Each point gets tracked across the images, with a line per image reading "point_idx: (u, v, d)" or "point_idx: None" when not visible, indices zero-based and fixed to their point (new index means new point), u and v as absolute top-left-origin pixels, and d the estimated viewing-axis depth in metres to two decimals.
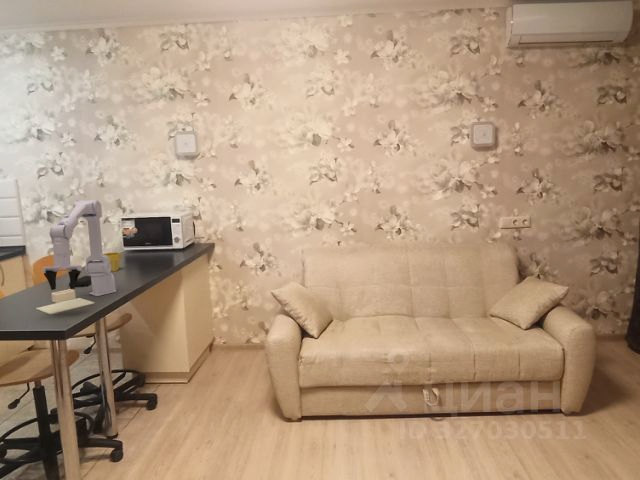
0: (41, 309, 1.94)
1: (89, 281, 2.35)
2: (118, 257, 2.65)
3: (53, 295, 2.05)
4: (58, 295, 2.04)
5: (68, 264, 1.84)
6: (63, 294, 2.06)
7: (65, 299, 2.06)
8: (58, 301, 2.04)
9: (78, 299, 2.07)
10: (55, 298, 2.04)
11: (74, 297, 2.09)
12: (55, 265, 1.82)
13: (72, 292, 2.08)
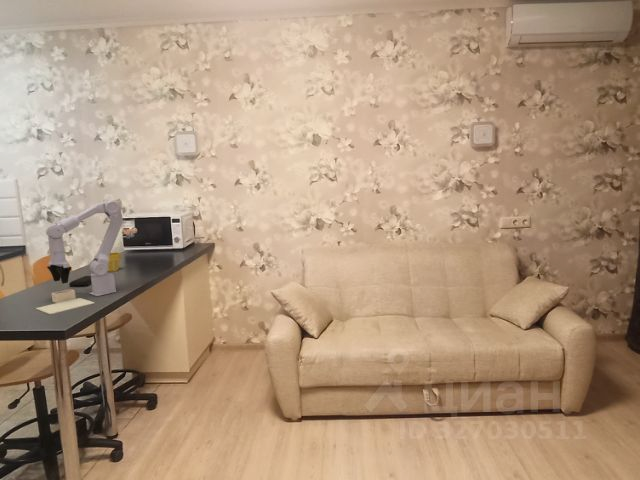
0: (41, 309, 1.94)
1: (89, 281, 2.35)
2: (118, 257, 2.65)
3: (53, 295, 2.05)
4: (58, 295, 2.04)
5: (59, 261, 2.03)
6: (63, 294, 2.06)
7: (65, 299, 2.06)
8: (58, 301, 2.04)
9: (78, 299, 2.07)
10: (55, 298, 2.04)
11: (74, 297, 2.09)
12: (51, 261, 2.04)
13: (72, 292, 2.08)
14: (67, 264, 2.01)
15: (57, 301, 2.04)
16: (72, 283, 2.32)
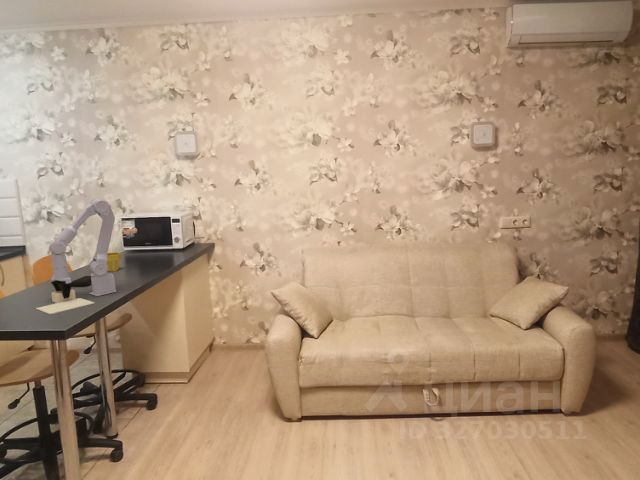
0: (41, 309, 1.94)
1: (90, 281, 2.35)
2: (118, 257, 2.65)
3: (53, 295, 2.05)
4: (58, 295, 2.04)
5: (62, 276, 2.04)
6: None
7: (65, 299, 2.06)
8: (58, 301, 2.04)
9: (78, 299, 2.07)
10: (55, 298, 2.04)
11: (74, 297, 2.09)
12: (53, 276, 2.06)
13: (72, 292, 2.08)
14: (69, 280, 2.03)
15: (57, 301, 2.04)
16: None
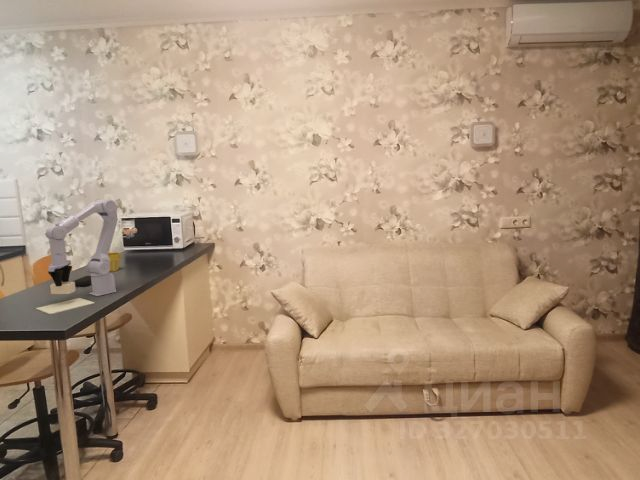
0: (41, 309, 1.94)
1: (90, 281, 2.35)
2: (118, 257, 2.65)
3: None
4: (52, 286, 1.99)
5: (54, 263, 1.98)
6: (57, 286, 1.99)
7: (59, 291, 2.00)
8: (52, 292, 2.00)
9: (78, 299, 2.07)
10: None
11: (68, 291, 2.00)
12: None
13: (66, 286, 1.99)
14: (51, 268, 1.93)
15: (51, 292, 2.00)
16: None
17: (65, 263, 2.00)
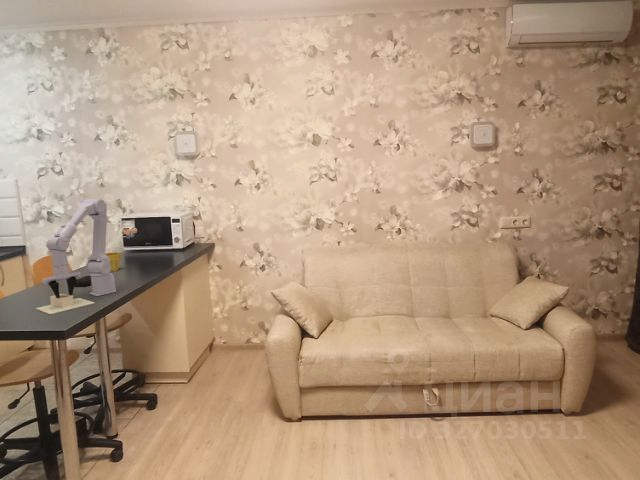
0: (41, 309, 1.94)
1: (90, 281, 2.35)
2: (118, 257, 2.65)
3: None
4: (51, 298, 1.97)
5: (54, 275, 1.94)
6: (54, 298, 1.97)
7: (56, 304, 1.97)
8: (51, 304, 1.98)
9: (78, 299, 2.07)
10: None
11: (62, 305, 1.95)
12: None
13: (60, 299, 1.95)
14: (43, 280, 1.91)
15: (51, 303, 1.98)
16: None
17: (63, 276, 1.94)
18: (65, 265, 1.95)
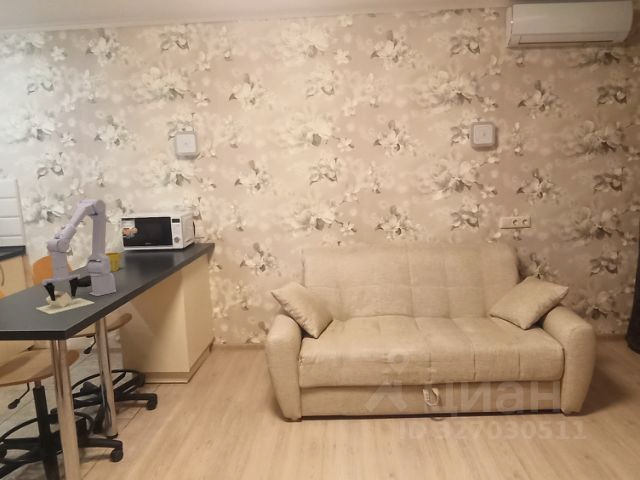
0: (41, 309, 1.94)
1: None
2: (118, 257, 2.65)
3: None
4: (47, 300, 1.96)
5: (53, 276, 1.94)
6: (50, 301, 1.95)
7: (55, 305, 1.96)
8: (51, 304, 1.98)
9: (78, 299, 2.07)
10: None
11: (61, 306, 1.95)
12: None
13: (56, 301, 1.93)
14: (43, 282, 1.90)
15: (50, 304, 1.98)
16: None
17: (62, 277, 1.94)
18: (65, 267, 1.94)
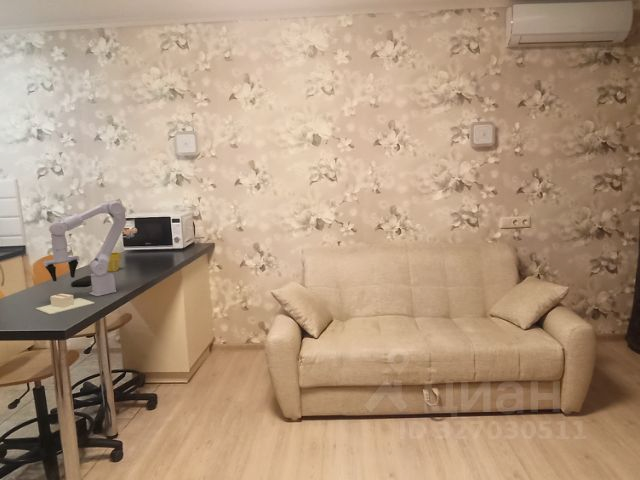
0: (41, 309, 1.94)
1: None
2: (118, 257, 2.65)
3: None
4: (51, 298, 1.98)
5: (54, 258, 2.04)
6: (54, 298, 1.97)
7: (56, 304, 1.97)
8: (52, 303, 1.98)
9: (78, 299, 2.07)
10: None
11: (62, 305, 1.95)
12: None
13: (60, 299, 1.95)
14: (44, 263, 2.00)
15: (51, 303, 1.98)
16: (74, 283, 2.32)
17: (62, 259, 2.04)
18: (64, 249, 2.04)
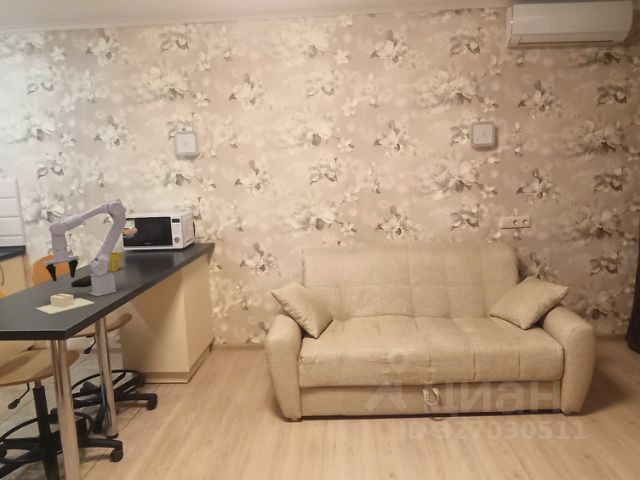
0: (41, 309, 1.94)
1: None
2: (118, 257, 2.65)
3: None
4: (51, 298, 1.98)
5: (54, 258, 2.04)
6: (54, 298, 1.97)
7: (56, 304, 1.97)
8: (52, 303, 1.98)
9: (78, 299, 2.07)
10: None
11: (62, 305, 1.95)
12: None
13: (60, 299, 1.95)
14: (44, 263, 2.00)
15: (51, 303, 1.98)
16: (74, 283, 2.32)
17: (62, 259, 2.04)
18: (64, 249, 2.04)
